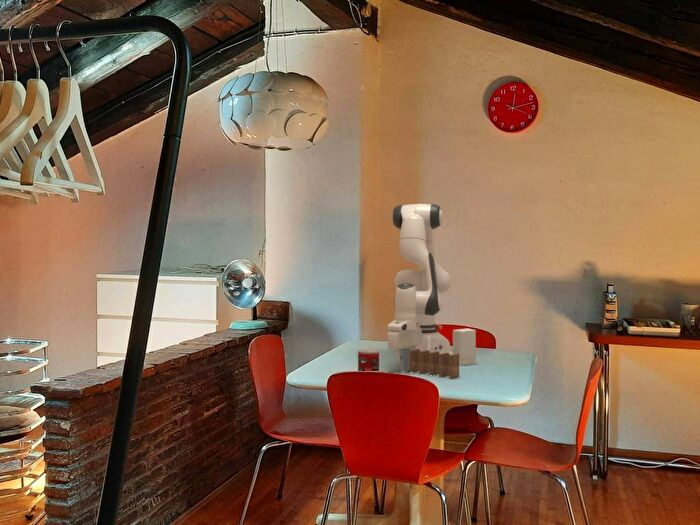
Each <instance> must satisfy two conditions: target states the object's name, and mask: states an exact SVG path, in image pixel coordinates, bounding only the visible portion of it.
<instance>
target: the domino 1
mask: <svg viewBox="0 0 700 525" xmlns="http://www.w3.org/2000/svg"><path fill="white" fill-rule="evenodd" d="M400 355H402V359H401V360H399V364H400V366H399V367H400V368H399V369H400V371H406V372H408V371H407V370H409V371H410V348H408V347H407V348H403V349H401V351H400Z"/></svg>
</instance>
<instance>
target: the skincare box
mask: <svg viewBox="0 0 700 525" xmlns="http://www.w3.org/2000/svg"><path fill="white" fill-rule="evenodd" d="M476 333H477V330H476V329H471V328H459V329H452V351H453V354H459V365H460V366H461V367H463V366H469V365H470V366H471V365H476V361H477V360H476V359H477V357H476V356H477V354H476V353H477V349H476V347H477V346H476V344H477V340H476V337H477V335H476ZM462 365H463V366H462ZM460 366H459V367H460Z"/></svg>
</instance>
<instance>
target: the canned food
mask: <svg viewBox="0 0 700 525" xmlns="http://www.w3.org/2000/svg"><path fill="white" fill-rule="evenodd" d="M357 351H358V352H357V372H358V371H379V372H380V350H378V349H375V348H361V349H358V350H357Z"/></svg>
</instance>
